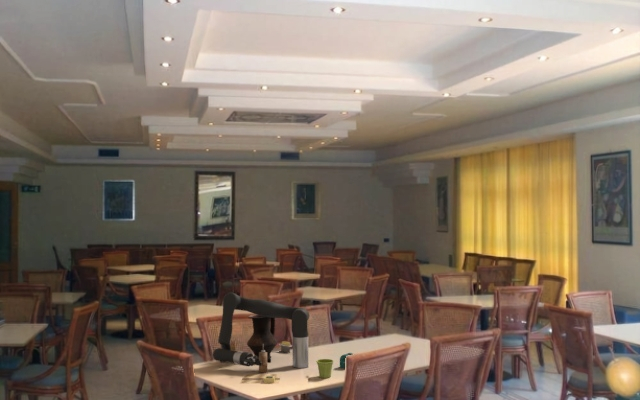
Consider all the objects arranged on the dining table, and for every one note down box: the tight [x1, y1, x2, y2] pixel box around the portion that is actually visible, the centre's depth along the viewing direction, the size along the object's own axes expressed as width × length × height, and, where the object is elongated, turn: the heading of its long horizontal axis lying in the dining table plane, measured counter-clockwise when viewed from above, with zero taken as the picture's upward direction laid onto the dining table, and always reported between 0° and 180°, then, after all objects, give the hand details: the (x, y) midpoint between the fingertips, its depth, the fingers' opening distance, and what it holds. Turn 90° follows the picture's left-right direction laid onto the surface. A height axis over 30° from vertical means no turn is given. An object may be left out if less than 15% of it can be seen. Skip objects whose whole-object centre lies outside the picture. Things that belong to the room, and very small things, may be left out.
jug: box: [246, 313, 279, 360], centre depth 392 cm, size 21×18×30 cm
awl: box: [258, 344, 268, 374], centre depth 353 cm, size 5×5×17 cm
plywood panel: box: [239, 373, 282, 384], centre depth 340 cm, size 20×18×1 cm
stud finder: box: [263, 376, 275, 384], centre depth 335 cm, size 5×6×2 cm
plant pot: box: [316, 358, 335, 379], centre depth 348 cm, size 9×9×9 cm
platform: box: [278, 340, 293, 354], centre depth 410 cm, size 12×18×7 cm, turn 48°
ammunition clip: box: [219, 339, 236, 363], centre depth 386 cm, size 11×2×12 cm, turn 133°
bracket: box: [339, 352, 354, 369], centre depth 366 cm, size 18×7×8 cm, turn 55°
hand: (266, 362), depth 352 cm, fingers open, 7 cm apart
